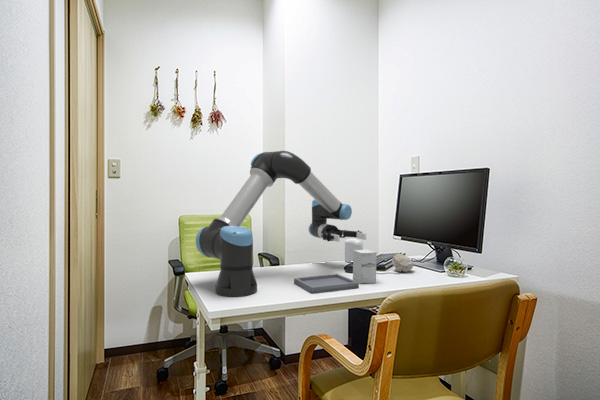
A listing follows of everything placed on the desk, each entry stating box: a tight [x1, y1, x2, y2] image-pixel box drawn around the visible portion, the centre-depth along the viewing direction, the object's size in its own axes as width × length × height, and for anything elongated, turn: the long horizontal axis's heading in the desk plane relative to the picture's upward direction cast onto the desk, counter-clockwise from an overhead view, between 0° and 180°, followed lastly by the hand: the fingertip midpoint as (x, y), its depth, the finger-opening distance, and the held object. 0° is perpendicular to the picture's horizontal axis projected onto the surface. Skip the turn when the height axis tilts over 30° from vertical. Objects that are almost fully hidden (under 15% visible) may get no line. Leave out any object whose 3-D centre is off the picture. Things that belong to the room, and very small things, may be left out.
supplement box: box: [352, 249, 378, 285], centre depth 155 cm, size 7×7×13 cm
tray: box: [293, 273, 360, 295], centre depth 147 cm, size 20×16×2 cm
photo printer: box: [344, 238, 364, 263], centre depth 195 cm, size 10×4×12 cm, turn 39°
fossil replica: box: [391, 252, 415, 273], centre depth 176 cm, size 12×8×10 cm
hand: (352, 237), depth 163 cm, fingers open, 13 cm apart
